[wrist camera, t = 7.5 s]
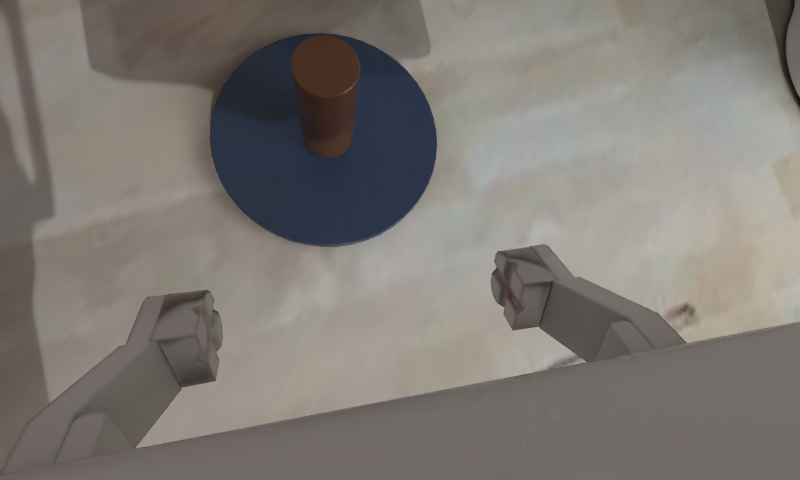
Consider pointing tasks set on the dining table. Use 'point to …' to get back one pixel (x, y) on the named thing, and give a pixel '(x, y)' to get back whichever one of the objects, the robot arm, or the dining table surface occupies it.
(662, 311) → the dining table surface
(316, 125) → the lid
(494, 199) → the dining table surface
